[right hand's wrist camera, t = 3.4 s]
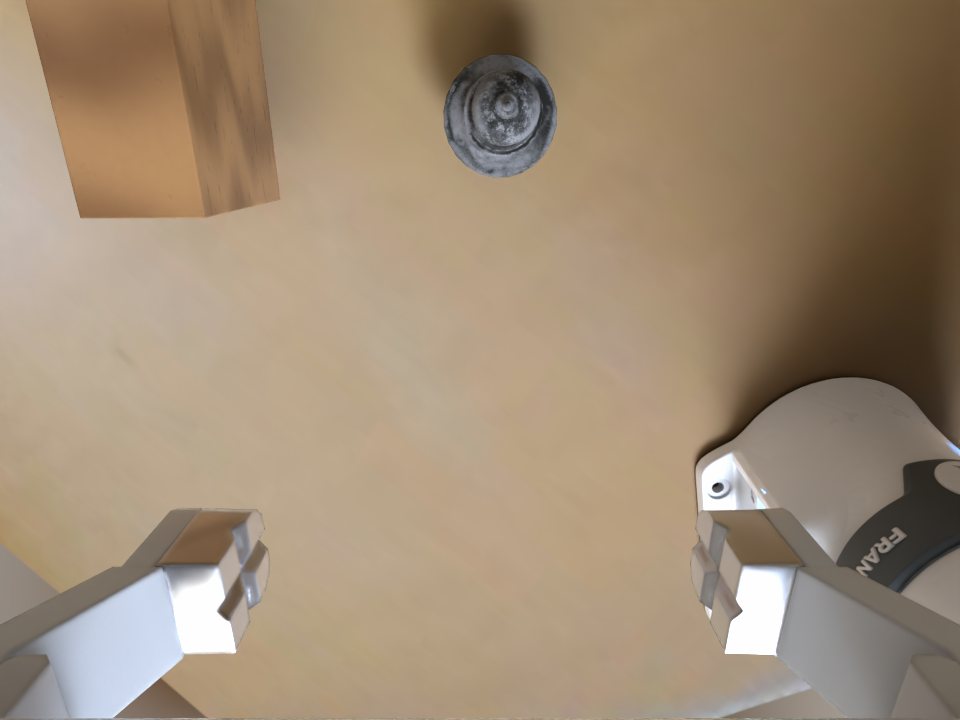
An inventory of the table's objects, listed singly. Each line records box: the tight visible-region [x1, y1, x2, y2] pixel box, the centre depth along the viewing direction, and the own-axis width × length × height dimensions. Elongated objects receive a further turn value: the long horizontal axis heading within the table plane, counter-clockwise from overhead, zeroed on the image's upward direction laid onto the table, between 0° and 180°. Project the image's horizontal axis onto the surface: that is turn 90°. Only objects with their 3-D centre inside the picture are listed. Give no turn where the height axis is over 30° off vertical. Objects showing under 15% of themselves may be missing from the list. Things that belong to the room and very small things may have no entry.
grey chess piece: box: [444, 54, 557, 177], centre depth 27 cm, size 6×6×12 cm
